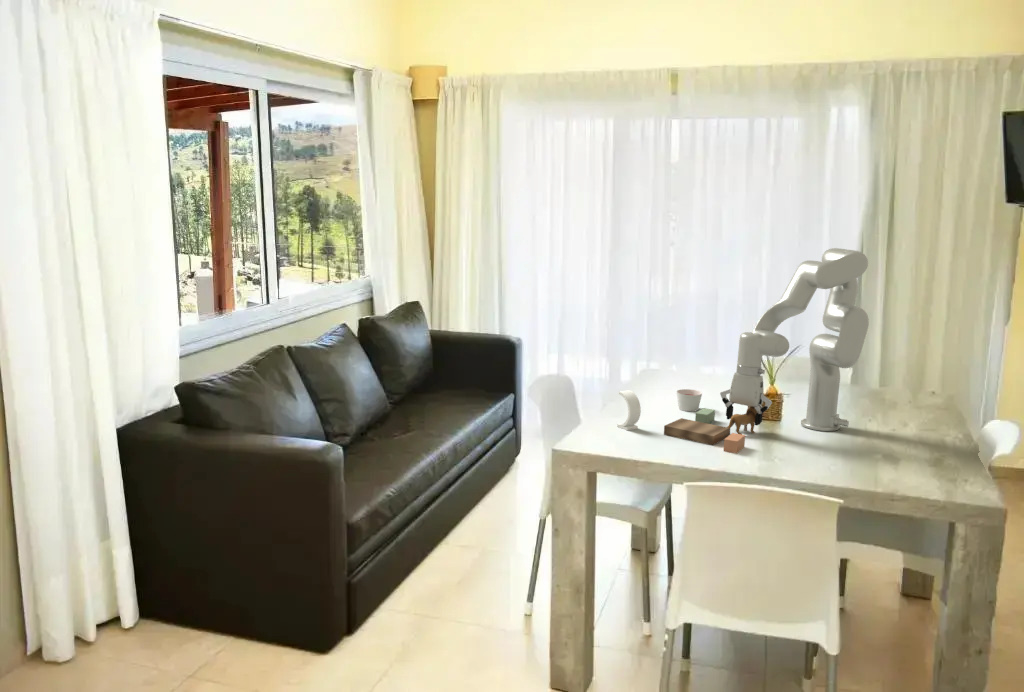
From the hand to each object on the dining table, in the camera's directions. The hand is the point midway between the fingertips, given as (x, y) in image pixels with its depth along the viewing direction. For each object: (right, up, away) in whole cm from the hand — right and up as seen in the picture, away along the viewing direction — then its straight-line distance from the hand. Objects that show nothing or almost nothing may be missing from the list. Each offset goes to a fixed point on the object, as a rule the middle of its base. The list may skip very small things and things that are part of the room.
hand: (743, 421), depth 279 cm
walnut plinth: (-17, -4, -5) cm, 18 cm away
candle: (-12, +2, +28) cm, 31 cm away
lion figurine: (0, -4, 0) cm, 4 cm away
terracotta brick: (-8, -7, -18) cm, 21 cm away
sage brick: (-10, -1, +11) cm, 15 cm away
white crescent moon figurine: (-37, -3, +2) cm, 38 cm away
